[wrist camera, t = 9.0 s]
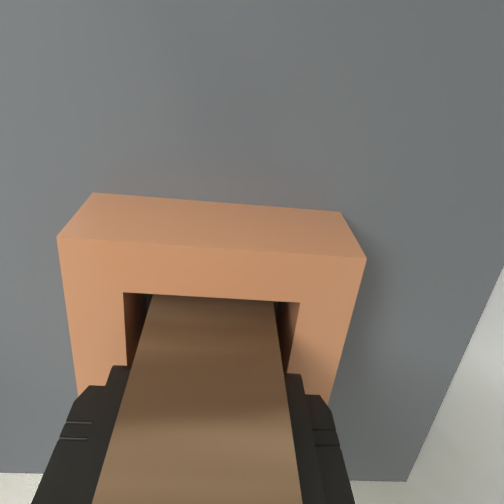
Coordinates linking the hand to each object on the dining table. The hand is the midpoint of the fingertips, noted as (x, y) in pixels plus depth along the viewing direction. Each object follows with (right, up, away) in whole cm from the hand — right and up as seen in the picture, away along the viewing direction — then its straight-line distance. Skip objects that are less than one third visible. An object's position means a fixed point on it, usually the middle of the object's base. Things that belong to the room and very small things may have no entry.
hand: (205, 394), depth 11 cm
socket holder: (0, +2, +4) cm, 5 cm away
